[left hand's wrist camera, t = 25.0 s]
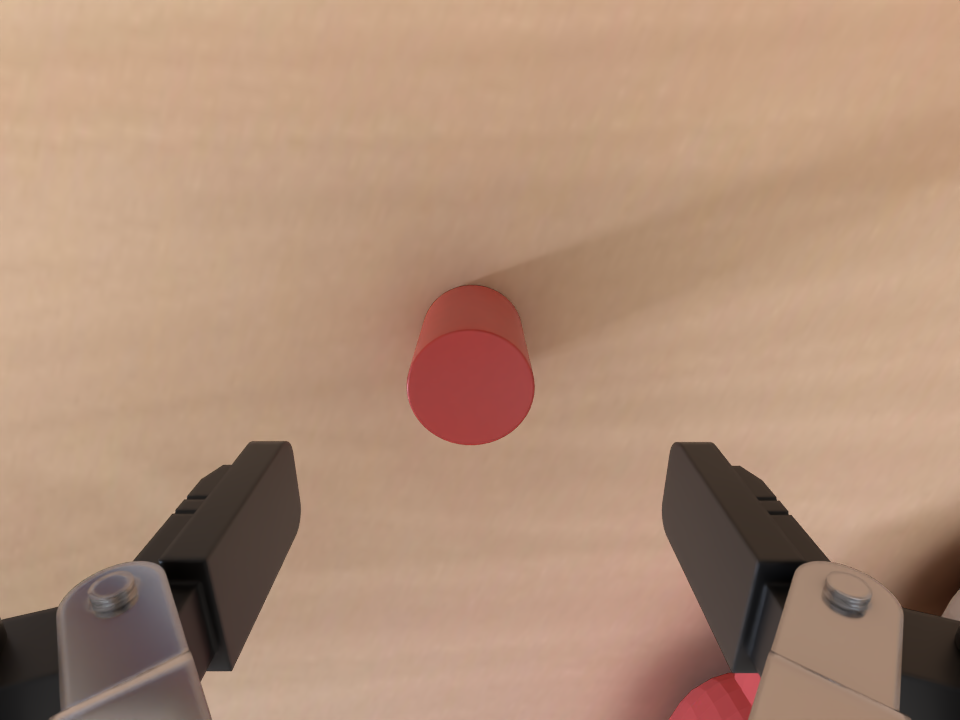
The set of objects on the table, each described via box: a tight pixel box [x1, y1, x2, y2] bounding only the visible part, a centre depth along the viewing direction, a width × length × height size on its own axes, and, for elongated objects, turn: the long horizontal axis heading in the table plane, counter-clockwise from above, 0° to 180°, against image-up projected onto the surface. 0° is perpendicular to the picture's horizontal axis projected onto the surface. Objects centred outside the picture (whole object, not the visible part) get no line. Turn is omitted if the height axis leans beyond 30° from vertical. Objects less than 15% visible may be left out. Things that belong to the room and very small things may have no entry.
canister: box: [407, 285, 535, 445], centre depth 18 cm, size 4×4×5 cm
